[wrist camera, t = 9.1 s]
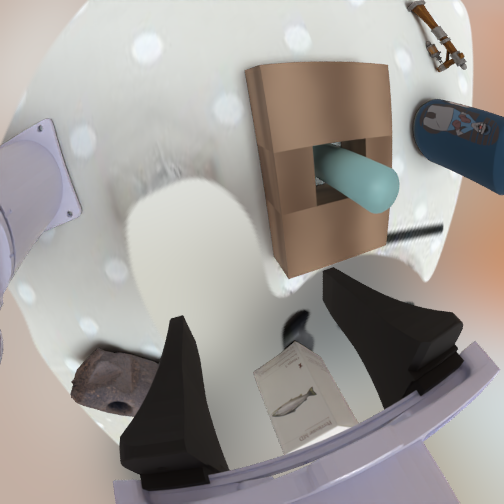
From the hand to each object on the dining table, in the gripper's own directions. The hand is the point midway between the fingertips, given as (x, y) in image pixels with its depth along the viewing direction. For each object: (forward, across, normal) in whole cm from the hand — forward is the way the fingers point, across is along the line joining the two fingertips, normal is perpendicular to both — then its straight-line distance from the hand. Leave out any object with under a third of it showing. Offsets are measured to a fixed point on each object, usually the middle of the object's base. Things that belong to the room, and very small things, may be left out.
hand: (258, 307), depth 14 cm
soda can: (+11, -23, -5) cm, 26 cm away
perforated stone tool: (+11, +13, +14) cm, 22 cm away
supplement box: (+11, -4, +23) cm, 26 cm away
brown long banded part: (+11, -24, -15) cm, 30 cm away
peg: (+10, -9, -3) cm, 14 cm away
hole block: (+10, -9, -3) cm, 14 cm away
